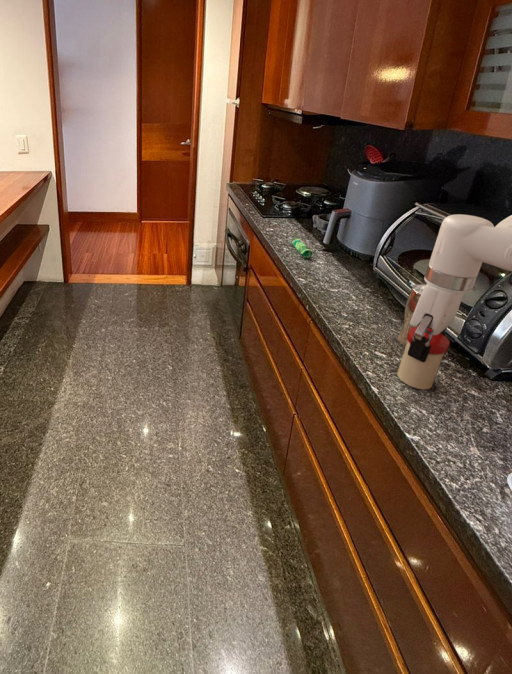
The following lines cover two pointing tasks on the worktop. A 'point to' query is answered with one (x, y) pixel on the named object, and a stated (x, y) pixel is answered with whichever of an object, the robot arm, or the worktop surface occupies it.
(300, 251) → the candy
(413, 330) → the red lid
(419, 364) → the jar
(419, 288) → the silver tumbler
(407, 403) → the worktop surface
